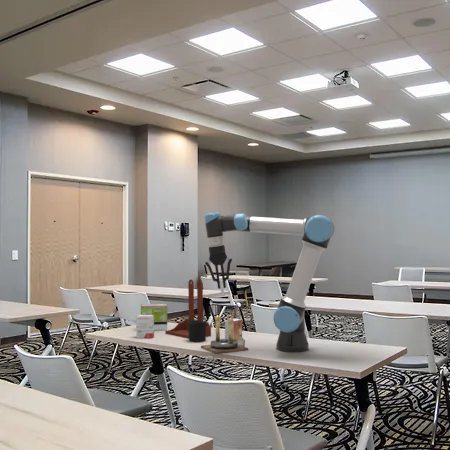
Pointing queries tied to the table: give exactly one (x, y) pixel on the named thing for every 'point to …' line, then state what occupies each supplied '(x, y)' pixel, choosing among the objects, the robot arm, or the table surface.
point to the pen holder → (197, 331)
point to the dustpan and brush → (191, 312)
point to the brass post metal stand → (224, 342)
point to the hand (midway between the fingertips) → (223, 295)
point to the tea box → (156, 315)
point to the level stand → (227, 350)
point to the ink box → (145, 326)
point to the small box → (234, 329)
